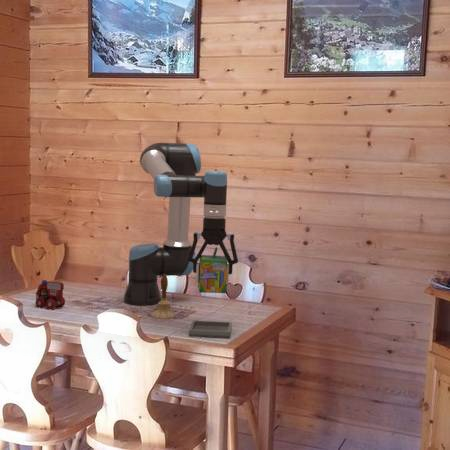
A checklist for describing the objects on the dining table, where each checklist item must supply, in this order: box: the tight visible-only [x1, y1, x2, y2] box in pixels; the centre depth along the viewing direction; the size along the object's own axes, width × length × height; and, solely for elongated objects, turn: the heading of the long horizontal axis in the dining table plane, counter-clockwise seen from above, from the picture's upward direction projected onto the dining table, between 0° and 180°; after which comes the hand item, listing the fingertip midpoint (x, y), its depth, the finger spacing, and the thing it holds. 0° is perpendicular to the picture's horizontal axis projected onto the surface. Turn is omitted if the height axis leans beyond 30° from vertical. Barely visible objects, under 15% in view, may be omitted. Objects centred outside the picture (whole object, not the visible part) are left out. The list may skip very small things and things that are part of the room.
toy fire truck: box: [35, 279, 66, 310], centre depth 263 cm, size 7×12×10 cm, turn 64°
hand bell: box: [152, 274, 175, 320], centre depth 253 cm, size 8×8×16 cm
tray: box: [188, 320, 233, 339], centre depth 233 cm, size 14×14×2 cm
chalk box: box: [197, 246, 228, 294], centre depth 231 cm, size 9×9×15 cm
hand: (212, 283), depth 232 cm, fingers closed on chalk box, 9 cm apart
